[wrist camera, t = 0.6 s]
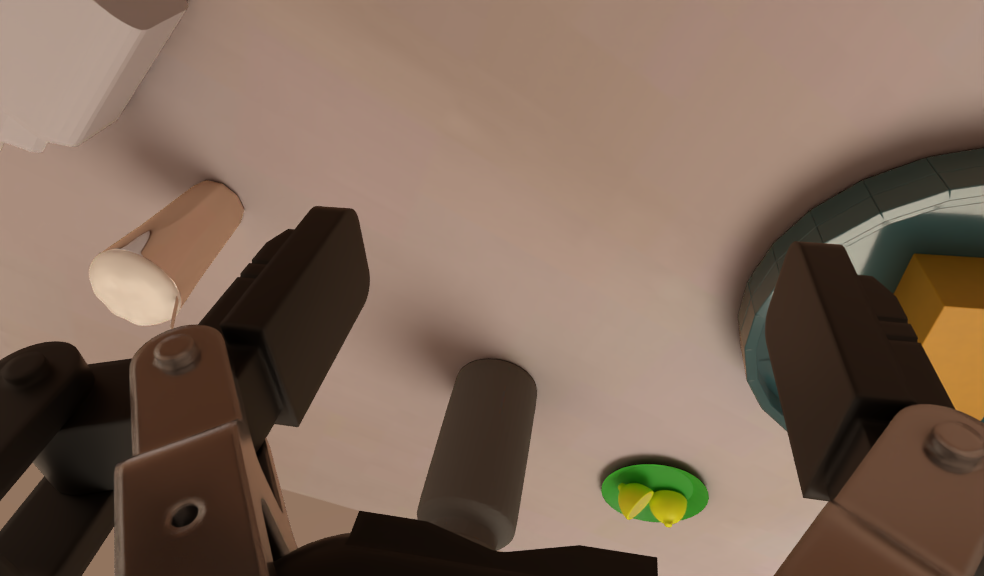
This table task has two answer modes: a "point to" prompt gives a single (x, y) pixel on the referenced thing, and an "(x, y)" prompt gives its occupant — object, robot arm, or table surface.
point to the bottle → (481, 454)
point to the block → (949, 322)
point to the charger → (75, 64)
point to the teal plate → (872, 241)
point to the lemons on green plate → (655, 493)
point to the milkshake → (166, 255)
